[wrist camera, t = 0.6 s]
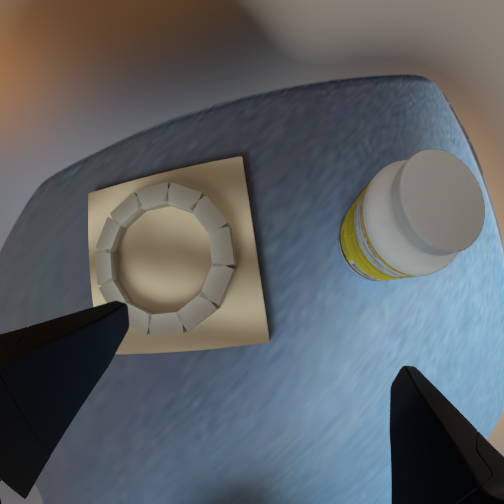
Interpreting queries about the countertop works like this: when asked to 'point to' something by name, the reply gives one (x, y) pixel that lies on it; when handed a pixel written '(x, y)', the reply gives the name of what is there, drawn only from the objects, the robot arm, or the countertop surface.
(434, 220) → the pill bottle
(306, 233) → the countertop surface
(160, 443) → the countertop surface
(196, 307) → the collar board
